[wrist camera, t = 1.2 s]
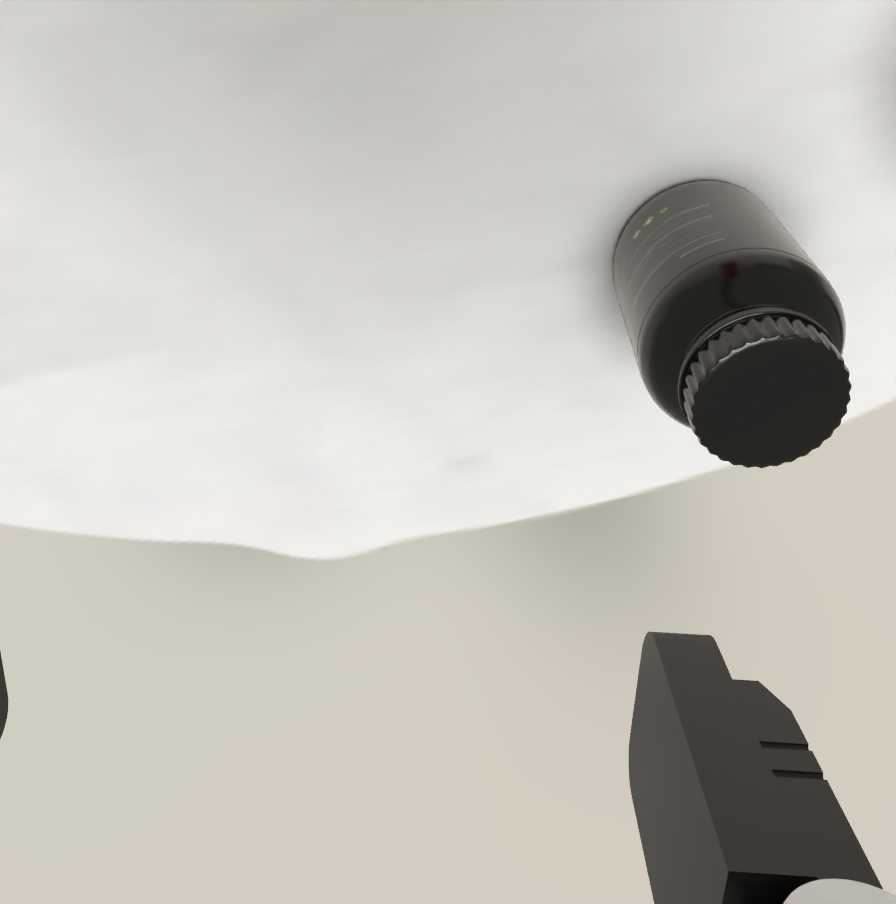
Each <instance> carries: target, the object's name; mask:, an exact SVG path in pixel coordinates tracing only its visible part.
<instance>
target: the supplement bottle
mask: <svg viewBox="0 0 896 904" xmlns="http://www.w3.org/2000/svg"><path fill="white" fill-rule="evenodd" d="M613 277H614V284H615V289H616V293H617V296H618V300H619V303H620V307H621V311H622V314H623V317H624V321H625V324H626V327H627V330H628V334H629V337H630V340H631V344H632V347H633V350H634V354H635V357H636V360H637V364H638V367H639V370H640V374H641V377H642V379H643V382H644V384H645V386H646V388H647V390H648V392H649V394H650V396H651V397H652V399H653V400H654V402H655V403H656V404H657V405H658V406H659V407H660V408H661V409H662V410H663V411H664V412H665V413H666V414H667V415H668V416H670V417H671V418H673V419H674V420H676V421H677V422H679V423H681V424H683V425H685V426H687V427H689V428H691V429H692V431H693V433H694V434H695V435H696V436H697V438H698V441H699V443H700V444H701V445H703V446H705V447H706V448H707V450H708V451H709V453H711V454H714V455H717V456H718V457H719V459H720V460H723V461H729V462H730V463H731V464H733V465H743V466H745V467H748V468H749V467H755V466H756V467H760V468H764V467H767V466H778V465H780V464H782V463H784V462H792V461H794V460H795V459H797V458H798V457H801V456H805V455H807V454H808V453H809V452H810V451H811V450H813V449H815V448H818V447H820V445H821V444H822V442H823V441H824V440H826V439H828V438H829V437H831V435H832V433H833V430H835V429H836V428H837V427H838V426H839V425H840V423H841V418H842V417H843V416H844V415H845V414H846V413H847V407H846V406H847V404H848V403H849V401H850V395H849V391H850V389H851V383H850V381H849V379H848V378H849V370H848V368H847V367H846V365H845V364H844V360H843V357H842V353H843V349H844V344H845V335H846V325H845V317H844V312H843V308H842V305H841V303H840V300H839V298H838V296H837V294H836V292H835V290H834V289H833V287H832V286H831V284H830V283H829V281H828V280H827V279H826V277H825V276H824V275H823V274H822V272H821V271H820V270H819V269H818V267H817V266H816V265H815V264H814V263H813V261H812V260H811V259H810V258H809V257H808V255H807V254H806V253H805V252H804V251H803V249H802V248H801V247H800V246H799V245H798V243H797V242H796V241H795V240H794V238H793V237H792V236H791V235H790V234H789V232H788V231H787V230H786V229H785V228H784V226H783V225H782V224H781V223H780V222H779V220H778V219H777V218H776V217H775V216H774V214H773V213H772V212H771V211H770V210H769V209H768V208H767V207H766V206H765V205H764V204H763V202H761V201H760V200H759V199H758V198H757V197H756V196H754V195H753V194H751V193H750V192H748V191H746V190H745V189H743V188H741V187H738V186H735V185H733V184H729V183H725V182H719V181H697V182H690V183H686V184H682V185H679V186H676V187H673V188H671V189H669V190H666V191H665V192H663V193H661V194H659V195H657V196H656V197H654V198H653V199H651V200H650V201H649V202H648V203H646V204H645V205H644V206H643V207H642V208H641V209H640V210H639V211H638V212H637V213H636V214H635V215H634V216H633V218H632V219H631V220H630V222H629V223H628V225H627V226H626V228H625V229H624V231H623V233H622V235H621V237H620V239H619V242H618V245H617V248H616V252H615V256H614V263H613Z"/></svg>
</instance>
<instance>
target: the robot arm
mask: <svg viewBox="0 0 896 904" xmlns="http://www.w3.org/2000/svg"><path fill="white" fill-rule="evenodd" d="M7 712H8V694H7V688H6V682H5V677H4V671H3V665H2V659H1V653H0V738H1V736H2V733H3V730H4V727H5V723H6V719H7ZM629 778H630V788H631V794H632V799H633V804H634V809H635V813H636V818H637V823H638V828H639V832H640V837H641V842H642V847H643V851H644V856H645V861H646V865H647V871H648V875H649V880H650V885H651V890H652V894H653V899H654V903H655V904H896V896H895V895H893V894H891V893H889V892H887V891H884V890H883V888H882V886H881V884H880V882H879V880H878V878H877V877H876V875H875V873H874V871H873V869H872V867H871V865H870V863H869V861H868V859H867V857H866V855H865V853H864V851H863V849H862V848H861V845H860V844H859V842H858V840H857V838H856V836H855V834H854V832H853V830H852V828H851V826H850V824H849V822H848V820H847V818H846V816H845V814H844V812H843V810H842V808H841V807H840V805H839V803H838V801H837V799H836V797H835V795H834V793H833V791H832V789H831V787H830V785H829V783H828V781H827V780H823V772H822V770H821V768H820V766H819V764H818V762H817V760H816V758H815V756H814V754H813V752H812V751H809V750H808V743H807V741H806V739H805V737H804V735H803V733H802V731H801V729H800V727H799V725H798V723H797V721H796V719H795V718H794V715H793V714H792V711H791V710H790V709H789V708H788V707H787V706H785V705H784V704H783V703H782V702H781V701H780V700H779V699H778V698H777V697H775V696H774V695H773V694H772V693H771V692H770V691H769V690H768V689H767V688H765V687H764V686H763V685H762V684H761V683H760V682H759V681H749V680H732V678H731V676H730V674H729V671H728V669H727V666H726V664H725V662H724V660H723V657H722V655H721V653H720V650H719V648H718V646H717V644H716V641H715V640H714V638H713V637H712V636H710V635H696V634H679V633H661V632H648V633H647V634H646V636H645V639H644V643H643V648H642V654H641V661H640V668H639V675H638V683H637V690H636V697H635V704H634V711H633V719H632V726H631V733H630V743H629Z"/></svg>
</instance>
